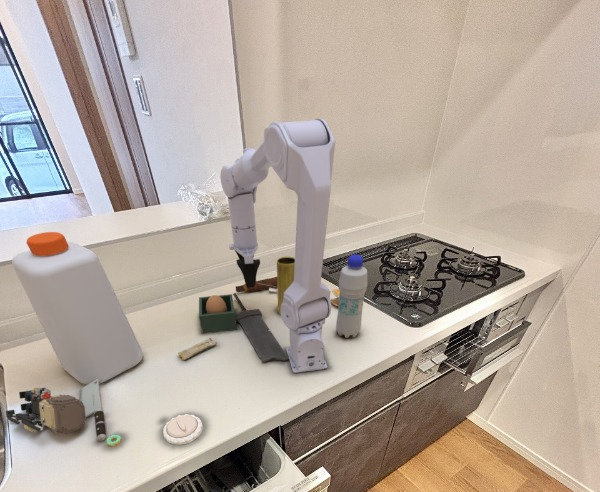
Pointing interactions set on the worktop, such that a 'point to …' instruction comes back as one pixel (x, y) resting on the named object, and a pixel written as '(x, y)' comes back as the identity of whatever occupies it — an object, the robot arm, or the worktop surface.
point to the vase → (284, 276)
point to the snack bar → (196, 349)
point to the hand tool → (259, 285)
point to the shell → (336, 293)
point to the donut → (113, 439)
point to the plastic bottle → (77, 308)
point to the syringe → (271, 289)
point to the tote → (217, 316)
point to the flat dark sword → (259, 334)
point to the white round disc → (182, 429)
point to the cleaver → (94, 407)
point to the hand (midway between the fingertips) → (249, 280)
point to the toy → (49, 411)
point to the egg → (215, 305)
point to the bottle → (351, 297)
